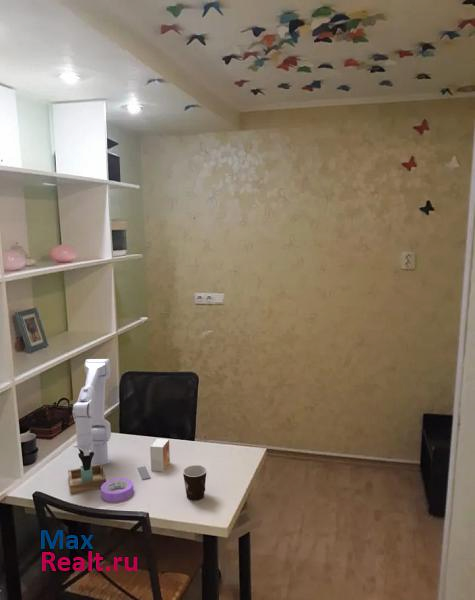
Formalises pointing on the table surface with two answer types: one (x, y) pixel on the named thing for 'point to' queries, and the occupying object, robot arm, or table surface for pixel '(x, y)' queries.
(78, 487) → the wooden tray
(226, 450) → the table surface
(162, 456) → the small box
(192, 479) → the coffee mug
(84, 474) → the block
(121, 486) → the masking tape
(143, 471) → the mat
